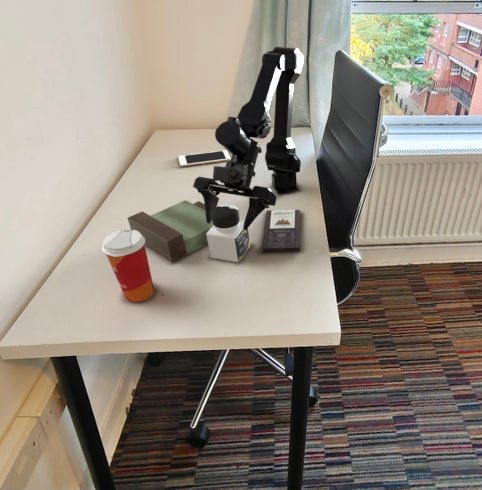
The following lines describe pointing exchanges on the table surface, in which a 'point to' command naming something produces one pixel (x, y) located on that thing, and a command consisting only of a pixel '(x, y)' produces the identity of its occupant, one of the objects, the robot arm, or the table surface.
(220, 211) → the medicine bottle
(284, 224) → the chocolate bar
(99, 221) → the table surface
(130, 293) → the paper cup
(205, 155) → the cell phone
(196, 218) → the step shelf
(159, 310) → the table surface
